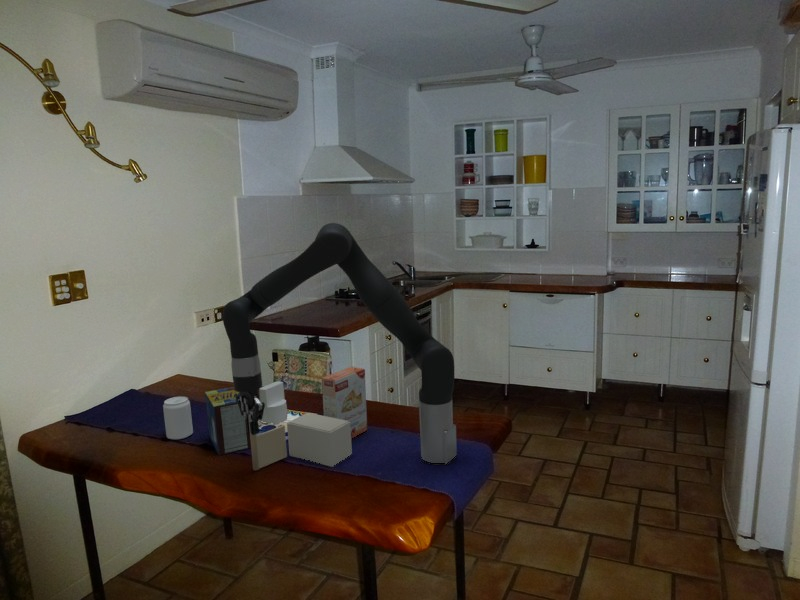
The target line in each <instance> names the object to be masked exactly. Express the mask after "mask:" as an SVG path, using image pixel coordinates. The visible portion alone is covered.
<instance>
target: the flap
mask: <svg viewBox="0 0 800 600" xmlns="http://www.w3.org/2000/svg"><path fill="white" fill-rule="evenodd" d="M252 415H253V414H252ZM248 418H249V415H248ZM249 430H250V421H249ZM250 441H251V448H250V449H251V452H250V453H251V461H252V469H253V471H259V470H260V469H262V468H265V467H267V466H269V465H271V464H274V463H275V462H278V461H280V460H283V459H285V458H287V457H288V452H287V451H288V449H287V438H286V426H285V425H280V426H277V427H275V428H272V429H269V430H267V431H264V432H262V433H258V434H255V435H252V434H251V431H250Z"/></svg>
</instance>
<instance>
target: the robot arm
mask: <svg viewBox="0 0 800 600" xmlns="http://www.w3.org/2000/svg"><path fill="white" fill-rule="evenodd" d="M335 265H337V266H338V267H339V268H340V269H341V270H342V271H343V272H344V273H345V275H346V276H347V277H348V279H349V280H350V282H351V284H352V285H353V287H354V290H355V291H356V293H357V295H358V297H359V298H360V300H361V302H362V303H363V305H364V306H365V308H366V309H367V310H368V311H369V313H370V314H372V316H373V317H374V318H375V319H376V321H378V323H380V324H381V326H383V327H384V328H385V329H386V330H387V331H388V332H389V333H390V334H392V335H393V337H395V338H396V339H397V340H398V341H400V343H401V344H402V346H403V347H404V348H405V349H406V350H407V352H408V353H409V355H410V356H411V358H412V360H414V363H415V365H416V366H417V367H418V369H420V371H421V388H420V389H419V390H418V407H419V409H418V411H419V432H420V433H419V435H420V458H421V457H422V458H421V460H422V459H423V460H425V461H427V462H431V463H445V464H444V465H446V464H447V463H448V462H449V463H451V462H452V461H453V460H454V459H455V458H456V457H455V456H456V455H457V456H458V453H457V452H458V451H457V424H454V421H453V420H454V419H453V418H454V417H453V416H454V414H453V412H454V411H453V409H454V408H453V393H454V389H455V359H454V355H453V353H452V352H451V351H450V349H449V348H448V347H446V346H445V345H444V344H442V343H441V342H440V341H438V340H437V339H435V338H434V336H432V335H431V334H430V333H429V332H428V331H427V330H426V329H425V327H423V326H422V325H421V323H420V322H419V320H418V319H417V317H416V316H415V313H414V312H413V310H412V308H411V307H410V305H409V304H408V302H407V301H406V299H405V298H404V296H403V294H401V293H400V292H399V291H398V289H397V288H396V287H395V285H393V284H392V283H391V282H390V281H389V279H388V278H387V277H386V276H385V274H383V273H382V272H381V270H379V268H378V267H377V266H376V265H375V264H374V263H373V262H372V261H371V260H370V259H369V258H368V256H367V255H366V254H365V252H364V251H363V250H362V248H361V246H360V245H359V244H358V242H357V241H356V239H355V238H354V236H353V234H352V233H351V232H350V230H349V229H348V228H347V227H345V226H344V225H342V224H340V223H337V222H331V223H330V222H329V223H327V224H324V225H323V226H322V227H321V228H320V229H319V231H318V233H317V234H316V237H315V239H314V240H313V241H312V243H311V244H309V246H307V248H306V249H305V250H304V251H303V252H302V253H301V254H299V255H298V256H297V257H296V258H294V259H292V260H290V261H289V262H288V263H286V264H284V265H282V266H280V267H278V268H276V269H274V270H272V271H271V272H270V273H268V274H267V275H266V276H265V277H263V278H262V279H260V280H258V282H256V283H255V284H254V285H253V286H252V287H251V289H250V290H249V291H247V292H246V293H245V294H243V295H241V296H240V297H237V298H236V299H233V300H231V301H229V302H227V303H226V304H225V305H224V306H223V310H222V322H223V326H224V329H225V333H226V335H227V338H228V341H229V345H230V346H229V347H230V356H231V362H230V363H231V365H230V366H231V373H232V374H231V375H232V383H233V387H234V390H235V391H237V392H239V395H236V400H237V403H238V406H239V409H240V412H241V415H242V416H243V415H244V419H246V427H247V432H248V433H250V431H251V434H252V435H255V434H256V435H259V434H260V427H259V421H261V419H262V417H263V412H264V407H265V404H264V402H262V403H261V402H260V393H259V392H258V391H259V389H260V388H262V387H263V379H262V378H263V376H262V369H261V368H262V366H261V360H260V357H259V351H258V340H257V337H256V335H255V333H253V332H251V329H250V323H251V322H252V321H253V320H254V319H256V318H258V317H259V316H260V315H261V314H262V313H264V312H265V311H266V309H268V308H269V307H271V306H273V305H274V304H276V303H277V302H278V301H280V300H281V299H283V298H284V297H285V296H287V295H289V293H291V292H292V291H294V290H295V289H296V288H298V287H299V286H300V285H302V284H303V283H305V282H306V281H307V280H309V279H311V278H312V277H315V276H316V275H317V274H319V273H321V272H323V271H325V270H327V269H329V268H331V267H333V266H335ZM252 414H253V415H252ZM248 415H249V418H248ZM249 421H250V430H249ZM454 457H455V458H454ZM453 458H454V459H453ZM452 459H453V460H452ZM423 460H422V461H423ZM451 460H452V461H451ZM450 461H451V462H450ZM449 463H448V464H449ZM448 464H447V465H448Z"/></svg>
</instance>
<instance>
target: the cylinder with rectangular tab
mask: <svg viewBox="0 0 800 600" xmlns="http://www.w3.org/2000/svg"><path fill="white" fill-rule="evenodd" d="M284 389H285V388H284V382H283V381H278V380H277V381H275V382H271V383H269V384H267V385H264V386H262V387H261V388H260V389H259V390H258V391H259V392H258V394H259V401H260V402H261V403H262V402H264V404H265V407H264V412H263V417H262V419H261V420H260V422H261V421H263V422H266V423H277V424H280V422H281V423H284V422H285V421H287V420H288V418H287V417H288V405H287V400H286V399H285V390H284Z"/></svg>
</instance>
